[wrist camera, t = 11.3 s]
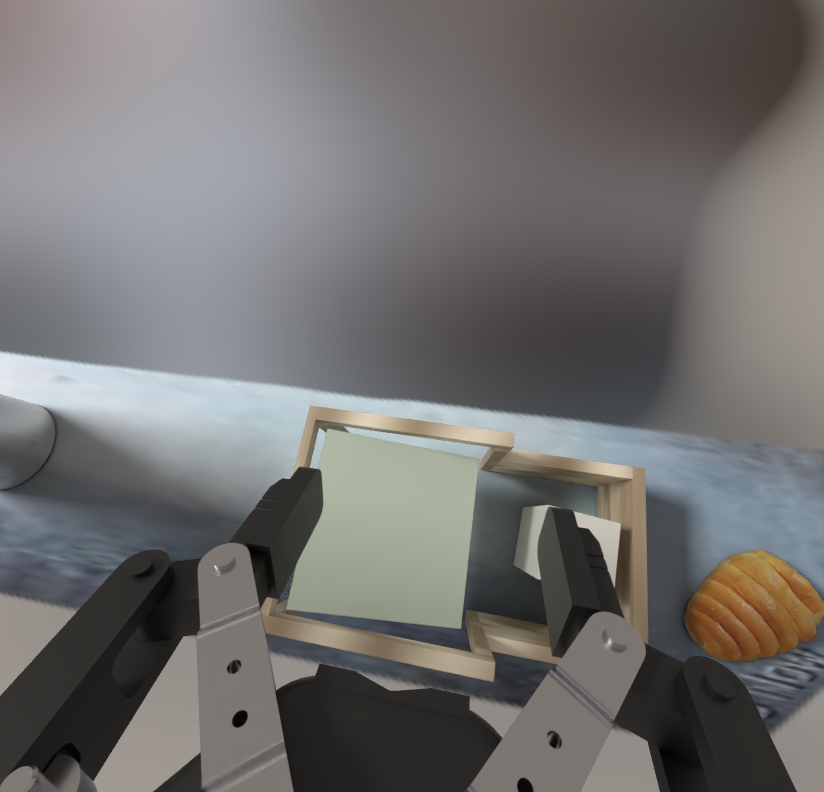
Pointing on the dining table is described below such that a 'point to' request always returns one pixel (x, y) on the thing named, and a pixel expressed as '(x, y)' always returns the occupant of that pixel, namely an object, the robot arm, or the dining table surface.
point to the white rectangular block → (599, 527)
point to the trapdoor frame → (486, 632)
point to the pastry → (753, 608)
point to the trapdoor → (388, 533)
